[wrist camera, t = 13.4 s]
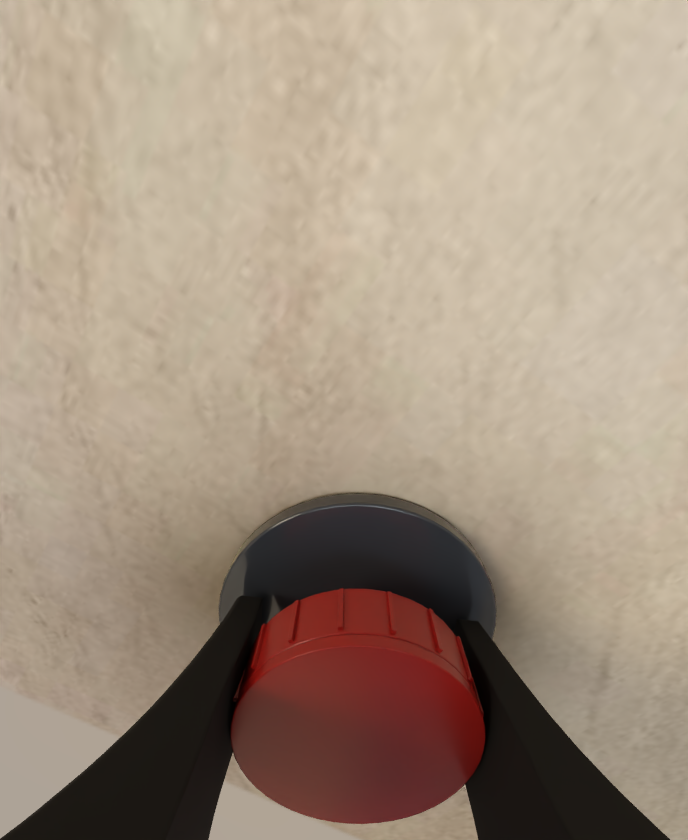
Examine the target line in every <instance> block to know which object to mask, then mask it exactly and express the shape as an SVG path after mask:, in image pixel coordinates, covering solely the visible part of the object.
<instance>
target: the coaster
mask: <svg viewBox="0 0 688 840" xmlns="http://www.w3.org/2000/svg"><path fill="white" fill-rule="evenodd" d="M340 588H344V589H349V588H353V589H372V590H381V591H385V592H387V591H390V592H392V593H394V594H397V595H400V596H403V597H406V598H408V599H411V600H413V601H415V602H417V603H419V604H421V605H423V606H424V607H426V608H427V609H429V608H431V609H432V610H433V612H434V613H435V614H436V615H437V616H438V617H439V618H440V619H442V620H443V621H444V622H445V623H446V625H447V626H448V627H449V628H450V629H451V630H452V631H453V632H454V628H455V624H456V621H457V619H462V620H471V621H479V623H480V624H481V625H482V627H483V628H484V629H485V631H486V632H487V634H488V635H489V636H490V638H491V639H493V635H494V630H495V626H496V601H495V594H494V591H493V587H492V584H491V580H490V578H489V576H488V574H487V572H486V570H485V567H484V565H483V563H482V561H481V559H480V557H479V555H478V554H477V552H476V551H475V549H474V548H473V547H472V545H471V544H470V542H469V541H468V540H467V539H466V538H465V537H464V536H463V535H462V534H461V533H460V532H459V531H458V530H457V529H456V528H454V527H453V526H452V525H451V524H449V523H448V522H447V521H446V520H444V519H442V518H441V517H439V516H438V515H436V514H434V513H433V512H431V511H429V510H427V509H425V508H422V507H420V506H418V505H415V504H413V503H410V502H407V501H404V500H400V499H397V498H393V497H387V496H381V495H376V494H358V493H355V494H338V495H332V496H326V497H321V498H316V499H313V500H310V501H307V502H303V503H300V504H298V505H296V506H293V507H291V508H289V509H287V510H284V511H283V512H281V513H279V514H278V515H276V516H274V517H273V518H271V519H269V520H268V521H267V522H265V523H264V524H263V525H262V526H261V527H259V528H258V529H257V530H256V531H255V532H254V533H253V534H252V535H251V536H250V537H249V538H248V539H247V540H246V541H245V542H244V544H243V545H242V547H241V548H240V549H239V551H238V552H237V554H236V555H235V557H234V559H233V562H232V564H231V566H230V568H229V570H228V573H227V575H226V577H225V580H224V583H223V587H222V590H221V594H220V602H219V622H220V624H221V622H222V621H223V619H224V618H225V616H226V615H227V613H228V612H229V610H230V609H231V607H232V606H233V604H234V602H235V601H236V599H237V598H238V597H240V596H241V595H242V596H251V597H260V598H263V606H262V620H261V626H262V625H263V624H267V623H268V622H269V621H270V620H271V619H272V618H273V617H274V616H275V615H277V614H278V613H279V612H280V611H282V610H283V609H285V608H286V607H288V606H290V605H291V604H293V603H294V601H296V600H301V599H304V598H306V597H309V596H312V595H315V594H318V593H322V592H327V591H332V590H339V589H340Z"/></svg>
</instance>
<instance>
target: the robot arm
mask: <svg viewBox="0 0 688 840" xmlns="http://www.w3.org/2000/svg"><path fill="white" fill-rule="evenodd" d="M262 606H263V598H260V597H251V596H242V595H241V596H240V597H238V598H237V599H236V601H235V602H234V604H233V606H232V607H231V609H230V610H229V612H228V613H227V615H226V616H225V618H224V619H223V621H222V622H221V624H220V625H219V626H218V628H217V629H216V630H215V632H214V633H213V635H212V636H211V637H210V639H209V640H208V641H207V642H206V644H205V645H204V646H203V648H202V649H201V650H200V651H199V653H198V654H197V655H196V656H195V658H194V659H193V660H192V661H191V663H190V664H189V665H188V666H187V667H186V669H185V670H184V671H183V672H182V673H181V674H180V675H179V677H178V678H177V679H176V680H175V681H174V682H173V684H172V685H171V686H170V687H169V688H168V689H167V690H166V692H165V693H164V694H163V695H162V696H161V697H160V698H159V699H158V700H157V701H156V702H155V703H154V705H153V706H152V707H151V708H150V709H149V710H148V711H147V712H146V713H145V714H144V715H143V716H142V717H141V718H140V719H139V720H138V721H137V722H136V723H135V724H134V725H133V726H132V727H131V728H130V729H129V730H128V731H127V732H126V733H125V734H124V735H123V736H122V737H121V738H119V739H118V740H117V741H116V742H115V743H114V744H113V745H112V746H111V747H110V748H109V749H108V750H107V751H106V752H105V753H104V754H102V755H101V756H100V757H99V758H98V759H97V760H96V761H95V762H94V763H93V764H91V765H90V766H89V767H88V768H87V769H86V770H85V771H84V772H82V773H81V774H80V775H79V776H78V777H76V778H75V779H74V780H73V781H72V782H71V783H69V784H68V785H67V786H66V787H64V788H63V789H62V790H61V791H60V792H59V793H57V794H56V795H55V796H54V797H52V798H51V799H50V800H49V801H48V802H47V803H45V804H44V805H43V806H42V807H41V808H39V809H38V810H37V811H36V812H34V813H33V814H32V815H31V816H29V817H28V818H27V819H26V820H24V821H23V822H22V823H21V824H19V825H18V826H17V827H15V828H14V829H13V830H11V831H10V832H9V833H7V834H6V835H5V836H3V837H2V838H1V839H0V840H208V838H209V834H210V830H211V825H212V821H213V816H214V813H215V809H216V805H217V802H218V798H219V795H220V791H221V788H222V785H223V782H224V779H225V775H226V772H227V769H228V766H229V762H230V759H231V756H232V753H233V749H232V745H231V737H230V729H231V720H232V716H233V712H234V709H235V705H236V702H235V701H234V696H235V693H236V691H237V688H238V686H239V683H240V680H241V678H242V675H243V672H244V670H245V667H246V665H247V661H248V657H249V653H250V650H251V648H252V645H253V643H254V641H255V639H256V637H257V636H258V634H259V633H260V629H261V620H262ZM453 633H454V635H455V636H456V637H457V636H459V637H460V638H461V642H462V645H463V648H464V651H465V655H466V658H467V661H468V664H469V668H470V671H471V674H472V677H473V681H474V683H475V686H476V689H477V692H478V696H479V699H480V702H481V705H482V709H483V712H484V717H483V719H484V724H485V738H486V739H485V746H484V752H483V755H482V757H481V760H480V763H479V765H478V766H477V768H476V770H475V772H474V774H473V775H472V776H471V777H470V779H469V780H468V781H467V782H466V784H465V785H466V789H467V793H468V797H469V801H470V805H471V809H472V813H473V817H474V821H475V826H476V830H477V835H478V840H670V839H669V838H668V837H667V836H666V835H665V834H664V833H662V832H661V831H660V830H659V829H658V828H657V827H656V826H655V825H654V824H653V823H652V822H651V821H650V820H649V819H648V818H647V817H646V816H644V815H643V814H642V813H641V812H640V811H639V810H638V809H637V808H636V807H635V806H634V805H633V804H632V803H631V802H630V801H629V800H628V799H627V798H626V797H625V796H624V795H623V794H622V793H621V792H620V791H619V790H618V789H617V788H616V787H615V786H614V785H613V784H612V783H611V782H610V781H609V780H608V779H607V778H606V777H605V776H604V775H603V774H602V773H601V772H600V771H599V770H598V769H597V768H596V766H595V765H594V764H593V763H592V762H591V761H590V760H589V759H588V758H587V757H586V756H585V755H584V754H583V753H582V752H581V751H580V749H579V748H578V747H577V746H576V745H575V744H574V743H573V742H572V741H571V739H570V738H569V737H568V736H567V735H566V734H565V732H564V731H563V730H562V729H561V728H560V727H559V725H558V724H557V723H556V722H555V721H554V720H553V718H552V717H551V716H550V715H549V714H548V712H547V711H546V710H545V709H544V707H543V706H542V705H541V704H540V703H539V701H538V700H537V699H536V697H535V696H534V695H533V694H532V692H531V691H530V690H529V688H528V687H527V686H526V685H525V683H524V682H523V681H522V680H521V678H520V677H519V676H518V674H517V673H516V672H515V670H514V669H513V668H512V666H511V665H510V664H509V662H508V661H507V660H506V658H505V657H504V655H503V654H502V653H501V651H500V650H499V649H498V647H497V646H496V645H495V643H494V642H493V640H492V639H491V638H490V636H489V635H488V634H487V632H486V631H485V629H484V628H483V627H482V625H481V624H480V623H479V621H471V620H462V619H457V621H456V624H455V628H454V632H453Z"/></svg>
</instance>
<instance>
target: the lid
mask: <svg viewBox="0 0 688 840" xmlns="http://www.w3.org/2000/svg"><path fill="white" fill-rule="evenodd" d="M234 701H235V702H236V705H235V709H234V712H233V716H232V720H231V729H230V737H231V745H232V749H233V753H234V756H235V759H236V761H237V763H238V765H239V767H240V769H241V770H242V771H243V773H244V774H245V776H246V777H247V778H248V780H249V781H250V782H251V783H252V784H253V785H254V786H255V787H256V788H257V789H258V790H260V791H261V792H262V793H263V794H265V795H266V796H267V797H269V798H270V799H272V800H273V801H275V802H277V803H278V804H280V805H282V806H284V807H286V808H288V809H290V810H292V811H295V812H298V813H300V814H303V815H306V816H309V817H313V818H316V819H321V820H326V821H331V822H339V823H351V824H368V823H381V822H387V821H394V820H398V819H402V818H406V817H410V816H413V815H416V814H419V813H422V812H424V811H426V810H428V809H430V808H433V807H435V806H437V805H438V804H440V803H442V802H443V801H445V800H447V799H448V798H449V797H451V796H452V795H453V794H455V793H456V792H457V791H458V790H459V789H460V788H461V787H462V786H464V785H465V784H466V782H467V781H468V780H469V779H470V777H471V776H472V775H473V774H474V772H475V770H476V768H477V766H478V765H479V763H480V760H481V757H482V755H483V752H484V746H485V739H486V738H485V724H484V719H483V717H484V712H483V709H482V705H481V702H480V699H479V696H478V692H477V689H476V686H475V683H474V681H473V677H472V674H471V671H470V668H469V664H468V661H467V658H466V655H465V651H464V648H463V645H462V642H461V638H460V637H459V636H457V637H456V636H455V635H454V633H453V631H452V630H451V629H450V628H449V627H448V626H447V625H446V623H445V622H444V621H443V620H442V619H440V618H439V617H438V616H437V615H436V614H435V613H434V612H433V610H432V609H431V608H429V609H427V608H426V607H424V606H423V605H421V604H419V603H417V602H415V601H413V600H411V599H408V598H406V597H403V596H400V595H397V594H394V593H392V592H390V591H387V592H385V591H381V590H372V589H353V588H349V589H344V588H340V589H339V590H332V591H327V592H322V593H318V594H315V595H312V596H309V597H306V598H304V599H301V600H296V601H294V603H293V604H291V605H290V606H288V607H286V608H285V609H283V610H282V611H280V612H279V613H278V614H277V615H275V616H274V617H273V618H272V619H271V620H270V621H269V622H268V623H267V624H263V625H262V626H261V629H260V633H259V634H258V636H257V637H256V639H255V641H254V643H253V645H252V648H251V650H250V653H249V657H248V661H247V665H246V667H245V670H244V672H243V675H242V678H241V680H240V683H239V686H238V688H237V691H236V693H235V696H234Z"/></svg>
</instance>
